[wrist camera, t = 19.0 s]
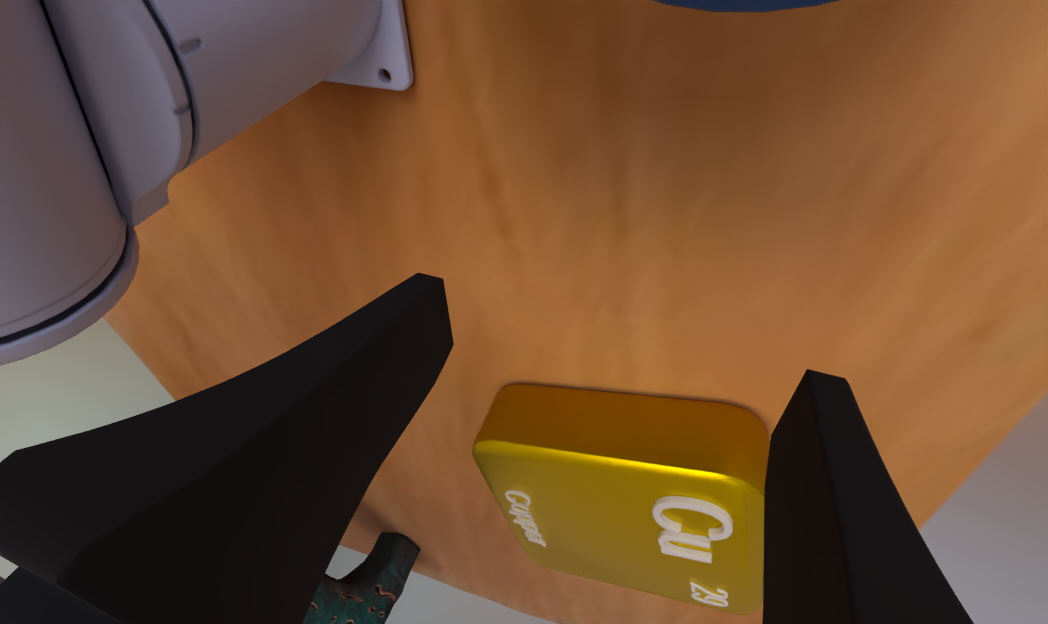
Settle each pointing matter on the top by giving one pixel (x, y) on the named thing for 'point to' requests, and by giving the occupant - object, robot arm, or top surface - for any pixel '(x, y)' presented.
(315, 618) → the ceramic cat
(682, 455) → the element tile
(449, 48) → the top surface
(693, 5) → the lid
